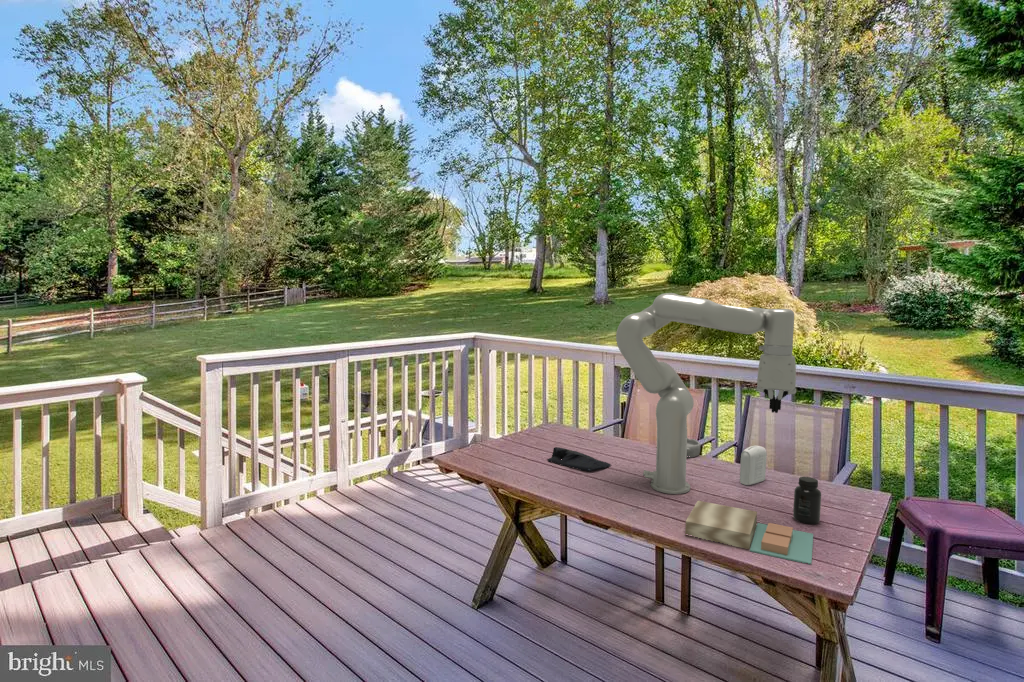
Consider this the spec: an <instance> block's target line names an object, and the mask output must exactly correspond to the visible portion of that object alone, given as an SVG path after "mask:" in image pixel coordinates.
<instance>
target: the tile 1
mask: <svg viewBox="0 0 1024 682" xmlns="http://www.w3.org/2000/svg"><path fill="white" fill-rule="evenodd" d="M767 525H768V526H767V529H766V533H769V534H774V535H779V536H783V537H788V538H790V544H791V540H792V536H793V530H794V527H792V526H787V525H782V524H777V523H773V522H772V523H771V522H768V523H767Z"/></svg>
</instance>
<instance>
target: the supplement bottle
mask: <svg viewBox="0 0 1024 682" xmlns="http://www.w3.org/2000/svg"><path fill="white" fill-rule="evenodd" d="M798 478H799V479H798V483H797V484H798V486H796V487H795V488H794V493H793V508H792V509H793V511H792V512H793V515H792V517H793V519H794V520H796V521H797V522H799V523H802V524H806V525H817V524H819V523H820V522H821V509H822V508H821V507H822V492H821V490H820V489H819V480H818V479H816V478H814V477H810V476H800V477H798Z"/></svg>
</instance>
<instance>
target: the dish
mask: <svg viewBox="0 0 1024 682" xmlns="http://www.w3.org/2000/svg"><path fill="white" fill-rule="evenodd" d="M700 453H701V443H700V442H699V441H698V440H696V439H694V438H689V437H687V456H688V457H687V458H694V457H697V456H699V455H700ZM689 456H690V457H689Z"/></svg>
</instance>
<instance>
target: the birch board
mask: <svg viewBox="0 0 1024 682" xmlns="http://www.w3.org/2000/svg"><path fill="white" fill-rule="evenodd" d="M757 519H758V511H755V510H750V509H745V508H740V507H734V506H728V505H723V504H718V503H713V502H709V501H703V500H697V501H696V503H695V504H694V506H693V508H692V510H691V512H690V513H689V515H688V516H687V518H686V520H685V531H684V534H688V535H692V536H695V537H698V538H697V539H699V538H702V539H701V540H704V539H706V540H705V541H708V540H711V541H710V542H713V541H715V542H714V543H718V542H720V543H719V544H722V543H724V544H723V545H727V544H728V545H727V546H731V545H732V547H737V548H739V549H740V548H741V549H746V550H750V547H751V544H752V540H753V537H754V534H755V530H756V527H757V523H758V520H757ZM695 537H694V538H695Z"/></svg>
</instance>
